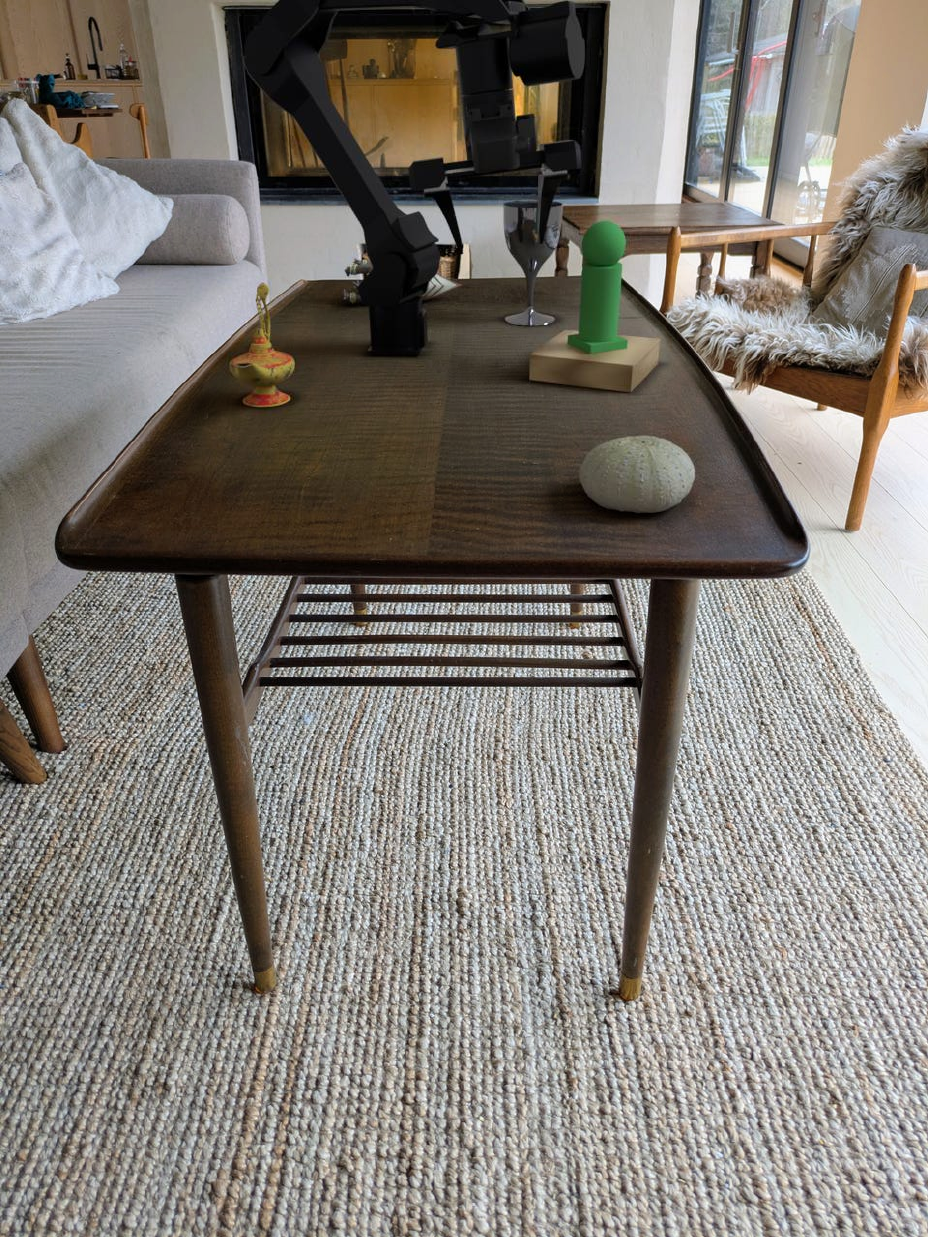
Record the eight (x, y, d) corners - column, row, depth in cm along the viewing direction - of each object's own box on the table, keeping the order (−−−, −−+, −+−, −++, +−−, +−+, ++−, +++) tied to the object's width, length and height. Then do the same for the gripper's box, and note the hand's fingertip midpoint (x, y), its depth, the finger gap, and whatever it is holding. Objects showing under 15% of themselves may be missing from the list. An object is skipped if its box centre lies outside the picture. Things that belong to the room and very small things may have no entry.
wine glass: (567, 316, 129) (573, 202, 121) (541, 328, 123) (545, 209, 116) (519, 310, 133) (521, 198, 125) (491, 321, 127) (492, 205, 119)
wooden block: (529, 380, 104) (529, 353, 102) (563, 353, 113) (564, 329, 111) (630, 392, 99) (633, 365, 98) (658, 363, 109) (660, 338, 107)
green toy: (590, 353, 102) (598, 225, 95) (567, 343, 106) (573, 219, 99) (627, 348, 104) (637, 222, 97) (603, 338, 107) (611, 216, 100)
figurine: (368, 250, 147) (470, 254, 144) (369, 290, 150) (469, 294, 147) (328, 265, 129) (442, 270, 126) (330, 309, 132) (442, 315, 129)
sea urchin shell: (560, 457, 78) (630, 390, 75) (618, 513, 81) (687, 451, 79) (581, 500, 70) (660, 427, 67) (644, 561, 73) (722, 493, 71)
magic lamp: (216, 434, 89) (197, 320, 84) (246, 380, 105) (232, 280, 99) (285, 433, 89) (272, 319, 84) (305, 379, 105) (295, 279, 99)
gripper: (397, 102, 90) (419, 268, 97) (584, 77, 89) (592, 246, 96) (401, 105, 99) (421, 255, 107) (570, 82, 99) (578, 235, 106)
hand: (501, 248), depth 104 cm, fingers open, 9 cm apart
